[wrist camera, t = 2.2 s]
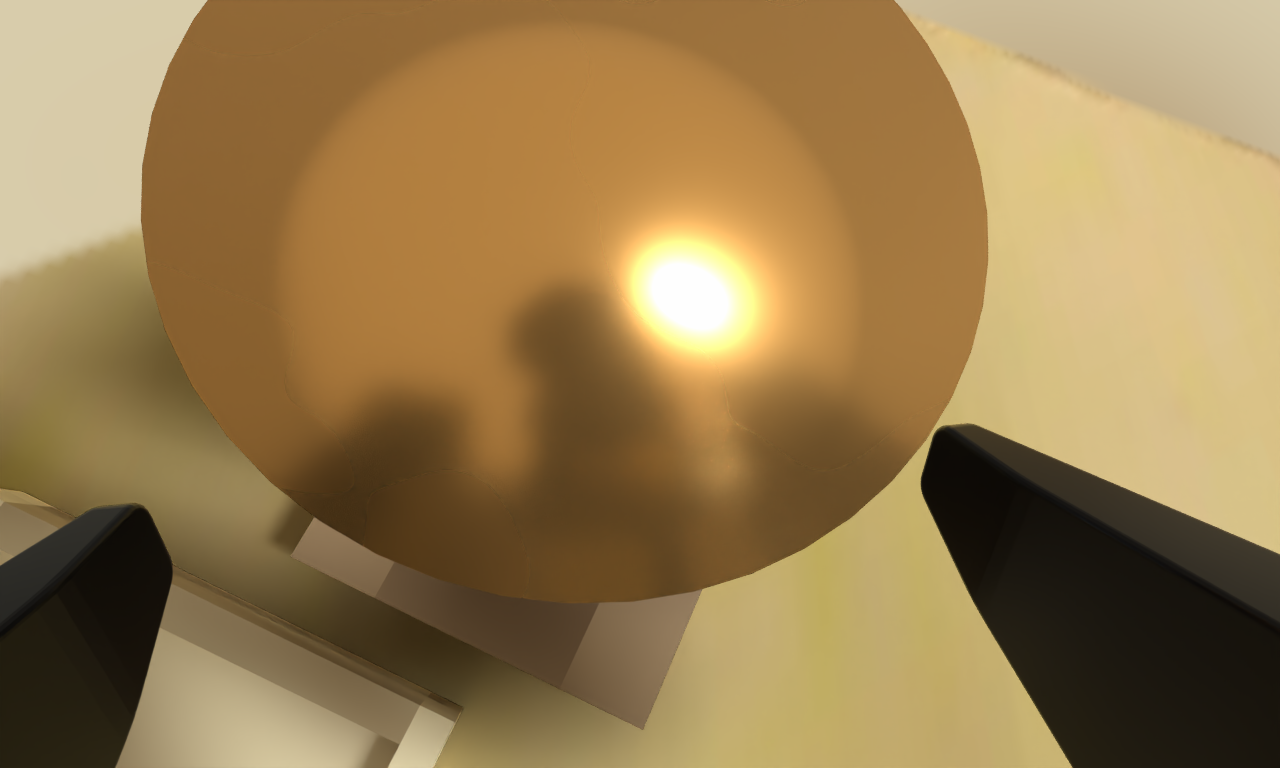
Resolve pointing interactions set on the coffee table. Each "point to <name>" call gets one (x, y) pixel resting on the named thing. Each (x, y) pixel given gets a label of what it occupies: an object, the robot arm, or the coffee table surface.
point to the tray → (255, 683)
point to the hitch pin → (567, 273)
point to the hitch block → (526, 625)
